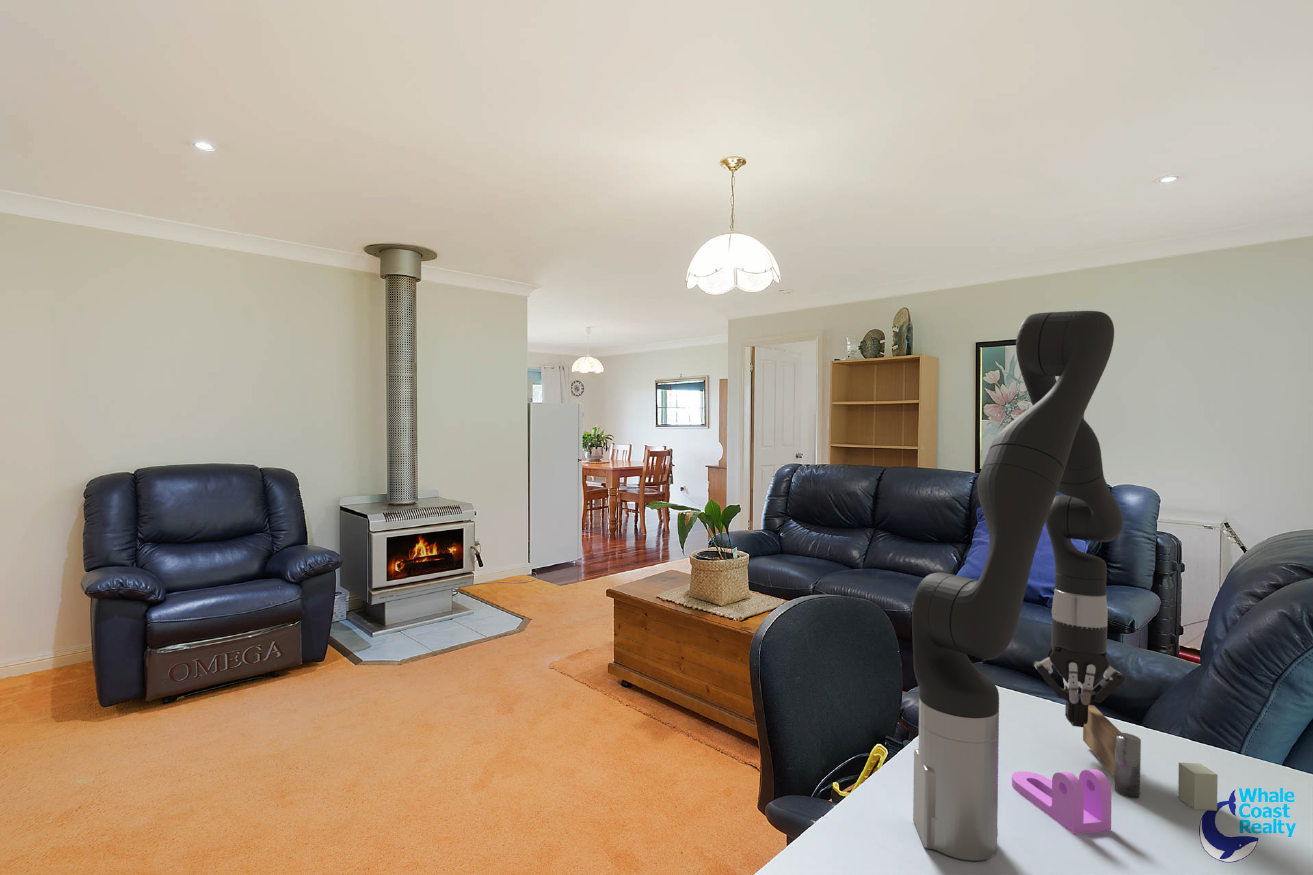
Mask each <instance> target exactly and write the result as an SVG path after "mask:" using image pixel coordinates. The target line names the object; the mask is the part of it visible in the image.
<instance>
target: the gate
mask: <svg viewBox="0 0 1313 875" xmlns="http://www.w3.org/2000/svg"><path fill="white" fill-rule="evenodd" d="M1082 733H1083V734H1082V740H1083V742H1084V743H1085V745H1086V746H1087V747H1088V748H1089V749H1090V750H1091V751H1092V753H1093V754H1094V755H1095V756H1096V758H1098V759H1099V761H1100V762H1101V763H1102V764H1103V765H1104V767H1105V768H1106V769H1107V770H1108V771H1109V772H1110V773H1111V775H1112V776H1113V777H1114V778H1115V734H1116V733H1122V732H1121V730H1119V729H1118V727H1117V726H1115V725H1114V724H1113V723H1112V722H1111V721H1110V719H1108V718H1107V717H1106V716H1105V714H1103V713H1102V712H1101V710H1099V709H1098V708H1097V707H1096V706H1095V705H1092V704H1089V706H1088V722H1087V724H1084V726H1083V727H1082Z"/></svg>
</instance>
